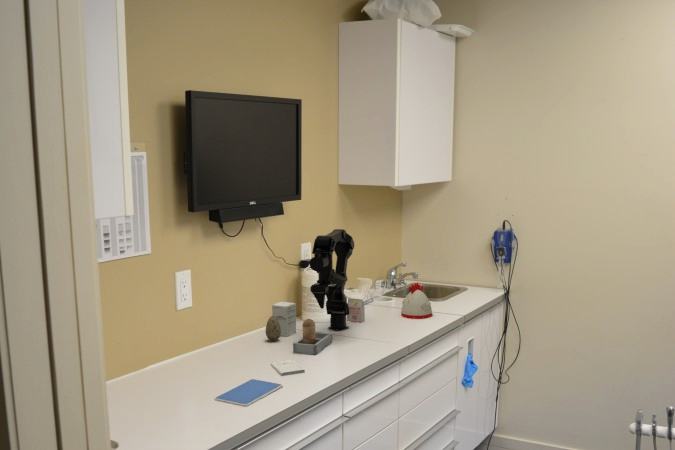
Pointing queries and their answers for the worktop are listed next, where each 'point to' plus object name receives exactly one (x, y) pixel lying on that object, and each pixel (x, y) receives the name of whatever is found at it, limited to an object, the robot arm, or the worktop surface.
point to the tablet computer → (248, 392)
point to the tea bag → (356, 310)
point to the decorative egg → (273, 329)
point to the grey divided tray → (321, 343)
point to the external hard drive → (287, 367)
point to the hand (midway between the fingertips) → (326, 305)
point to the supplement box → (285, 317)
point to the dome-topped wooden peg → (309, 332)
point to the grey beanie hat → (416, 304)
